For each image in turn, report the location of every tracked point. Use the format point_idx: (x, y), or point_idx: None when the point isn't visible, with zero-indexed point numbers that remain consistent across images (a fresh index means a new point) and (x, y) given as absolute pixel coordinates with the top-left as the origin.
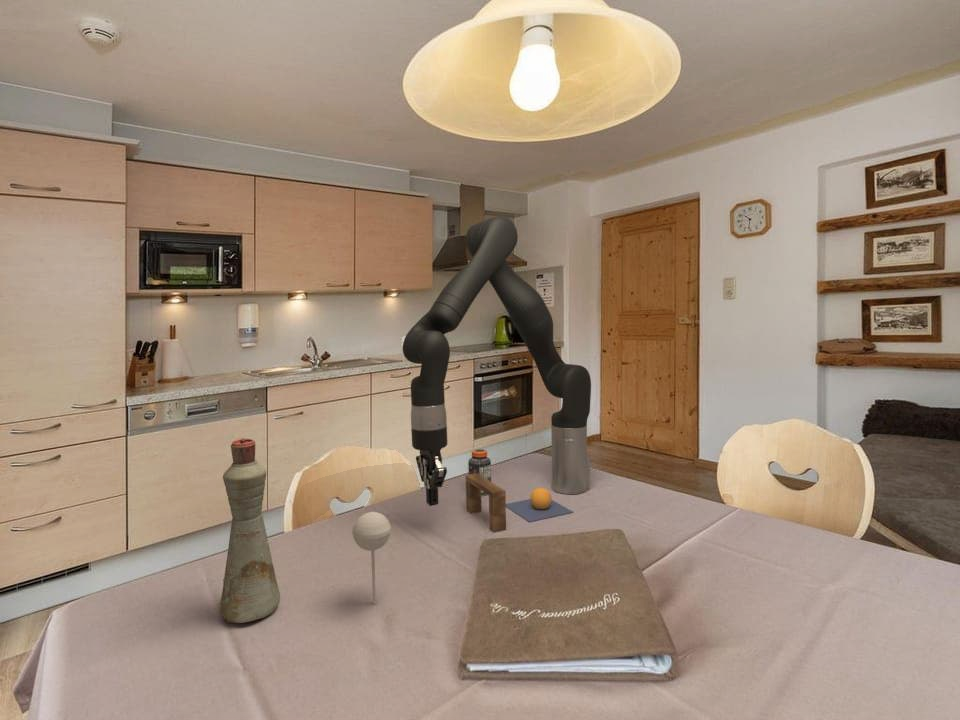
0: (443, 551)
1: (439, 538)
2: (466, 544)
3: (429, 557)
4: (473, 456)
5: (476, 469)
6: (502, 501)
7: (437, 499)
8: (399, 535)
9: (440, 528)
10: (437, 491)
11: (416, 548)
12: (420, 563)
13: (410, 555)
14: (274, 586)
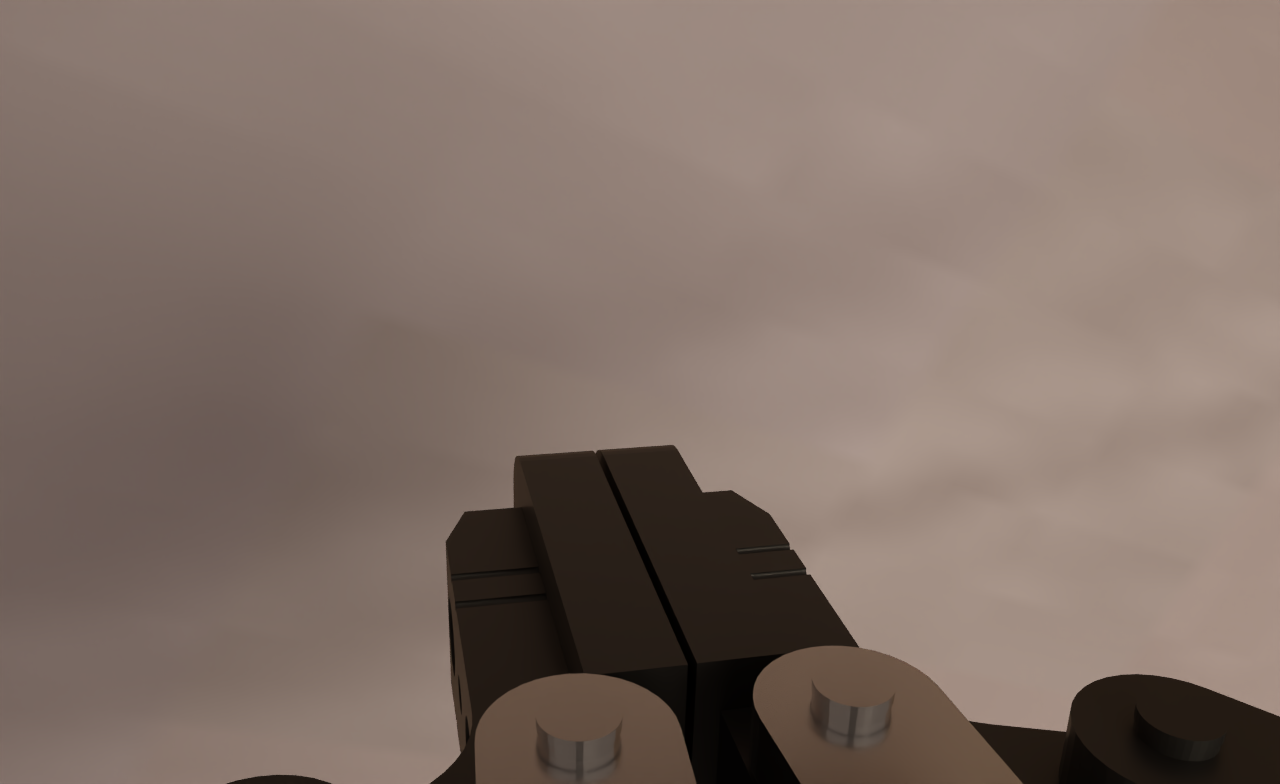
0: (1121, 402)
1: (781, 332)
2: (1141, 68)
3: (1144, 575)
4: None
5: None
6: None
7: (774, 531)
8: (427, 762)
9: (461, 201)
10: (756, 597)
11: (878, 650)
12: (1192, 679)
13: None
14: None
